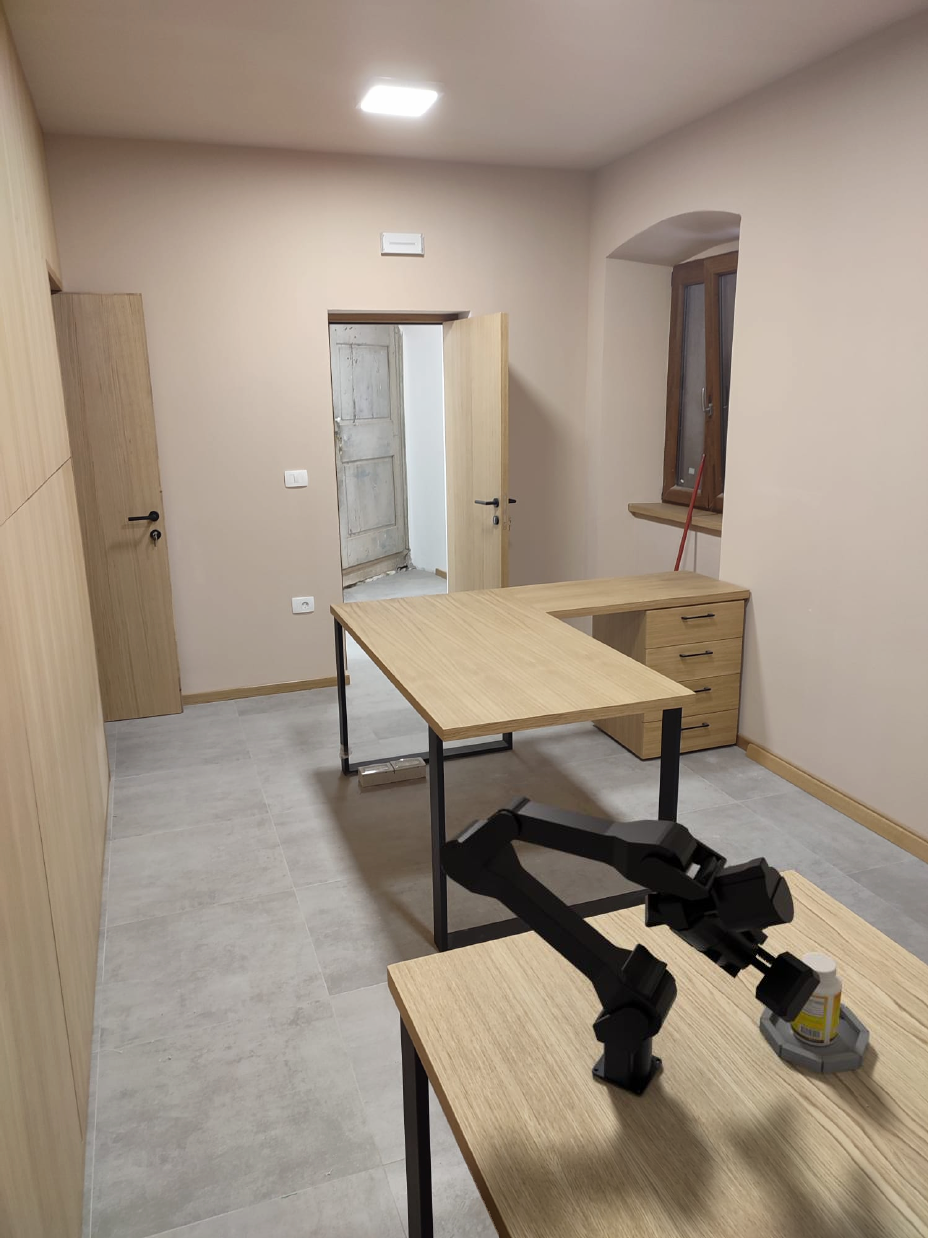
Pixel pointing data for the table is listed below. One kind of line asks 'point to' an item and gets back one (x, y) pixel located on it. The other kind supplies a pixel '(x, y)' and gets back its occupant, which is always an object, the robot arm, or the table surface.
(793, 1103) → the table surface
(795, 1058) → the dish
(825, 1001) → the supplement bottle
